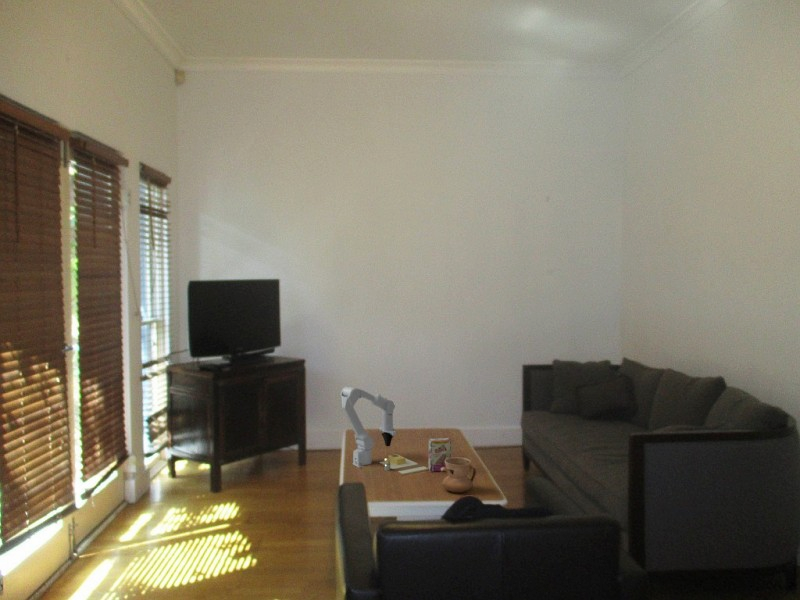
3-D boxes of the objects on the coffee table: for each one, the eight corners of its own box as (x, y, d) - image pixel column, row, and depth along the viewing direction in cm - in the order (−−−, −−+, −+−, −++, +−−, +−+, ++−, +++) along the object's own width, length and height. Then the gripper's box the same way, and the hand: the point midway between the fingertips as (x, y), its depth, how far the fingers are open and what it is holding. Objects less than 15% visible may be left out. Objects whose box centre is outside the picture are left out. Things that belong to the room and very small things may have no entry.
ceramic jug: (444, 496, 313) (445, 466, 312) (435, 486, 327) (436, 457, 326) (481, 494, 317) (482, 464, 317) (471, 483, 331) (471, 455, 331)
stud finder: (397, 465, 359) (397, 459, 359) (388, 461, 367) (388, 455, 367) (405, 463, 362) (405, 457, 362) (396, 459, 370) (396, 453, 369)
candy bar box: (430, 472, 349) (430, 441, 349) (428, 469, 354) (428, 438, 353) (451, 471, 352) (451, 439, 351) (448, 468, 357) (448, 437, 356)
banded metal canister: (386, 472, 349) (386, 459, 349) (383, 471, 352) (383, 458, 352) (391, 471, 351) (391, 458, 351) (388, 470, 354) (388, 457, 353)
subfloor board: (402, 475, 345) (402, 473, 344) (378, 464, 365) (378, 462, 365) (428, 470, 353) (428, 468, 353) (404, 459, 373) (404, 457, 373)
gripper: (400, 423, 367) (401, 447, 368) (387, 418, 380) (387, 442, 380) (389, 424, 364) (389, 449, 364) (376, 419, 376) (376, 443, 377)
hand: (387, 446), depth 372 cm, fingers closed
